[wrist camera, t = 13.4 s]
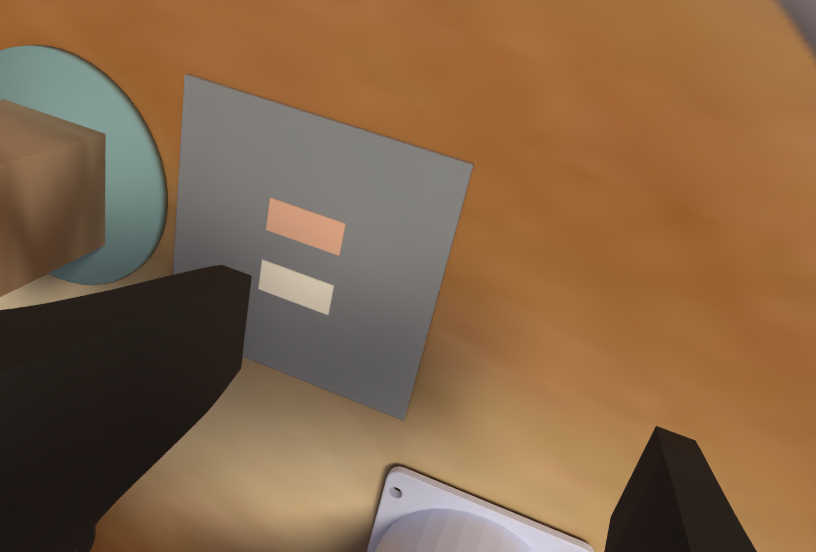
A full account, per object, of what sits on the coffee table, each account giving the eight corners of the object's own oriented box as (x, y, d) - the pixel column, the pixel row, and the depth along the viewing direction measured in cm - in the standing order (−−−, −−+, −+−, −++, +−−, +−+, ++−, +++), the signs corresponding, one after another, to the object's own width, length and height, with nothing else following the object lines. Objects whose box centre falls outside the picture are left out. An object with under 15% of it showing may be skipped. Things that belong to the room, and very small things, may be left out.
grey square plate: (405, 418, 25) (403, 422, 25) (172, 325, 27) (168, 328, 27) (474, 163, 21) (472, 165, 20) (187, 73, 23) (183, 74, 22)
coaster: (161, 310, 27) (153, 316, 27) (-22, 238, 29) (-32, 242, 28) (173, 84, 23) (164, 86, 22) (-41, 16, 25) (-54, 16, 24)
